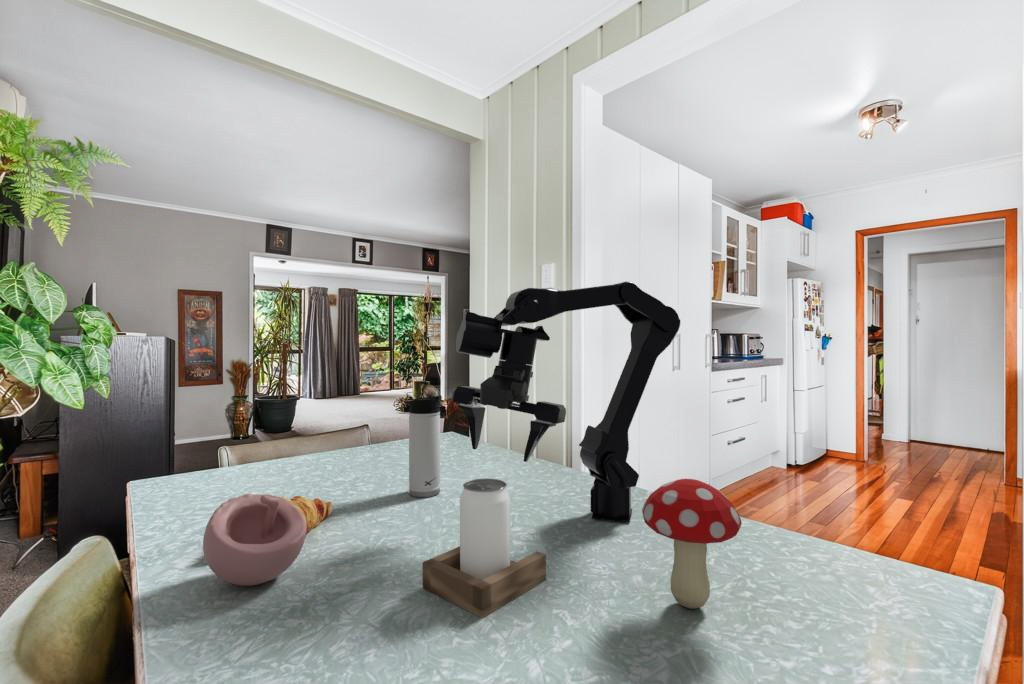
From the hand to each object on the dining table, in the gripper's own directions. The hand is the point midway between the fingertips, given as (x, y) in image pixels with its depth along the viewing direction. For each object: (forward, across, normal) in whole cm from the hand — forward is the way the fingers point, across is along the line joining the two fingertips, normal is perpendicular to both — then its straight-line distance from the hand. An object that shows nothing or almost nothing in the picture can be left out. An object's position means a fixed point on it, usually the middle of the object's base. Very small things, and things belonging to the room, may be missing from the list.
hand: (499, 455), depth 84 cm
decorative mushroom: (+10, +32, -14) cm, 36 cm away
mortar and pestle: (+19, -21, -26) cm, 38 cm away
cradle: (+13, +7, -17) cm, 23 cm away
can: (+13, +7, -17) cm, 22 cm away
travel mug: (+14, -19, +14) cm, 28 cm away
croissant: (+19, -30, -13) cm, 37 cm away
